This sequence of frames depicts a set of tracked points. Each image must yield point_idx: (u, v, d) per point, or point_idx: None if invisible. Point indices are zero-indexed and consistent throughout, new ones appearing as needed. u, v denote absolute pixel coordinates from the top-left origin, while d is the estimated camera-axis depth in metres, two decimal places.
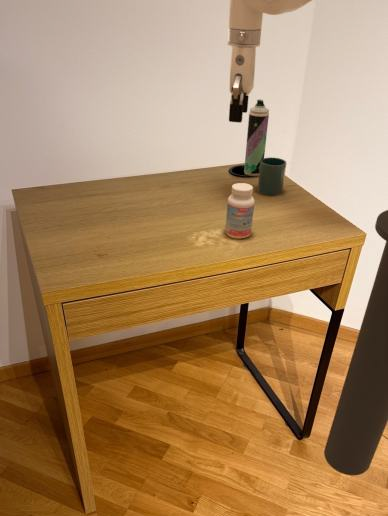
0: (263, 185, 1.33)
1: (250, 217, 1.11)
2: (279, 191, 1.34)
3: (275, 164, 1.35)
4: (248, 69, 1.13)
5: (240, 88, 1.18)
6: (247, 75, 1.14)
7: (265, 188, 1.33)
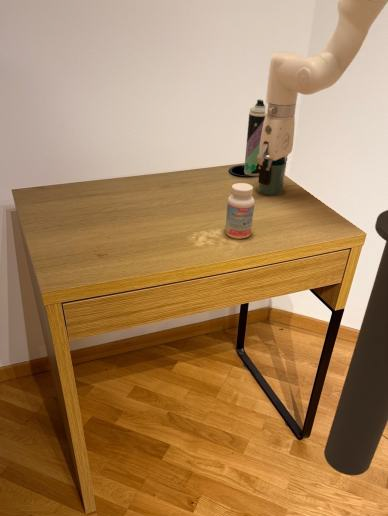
0: (263, 185, 1.33)
1: (250, 217, 1.11)
2: (279, 191, 1.34)
3: (275, 164, 1.35)
4: (274, 139, 1.23)
5: None
6: (273, 144, 1.24)
7: (264, 188, 1.33)
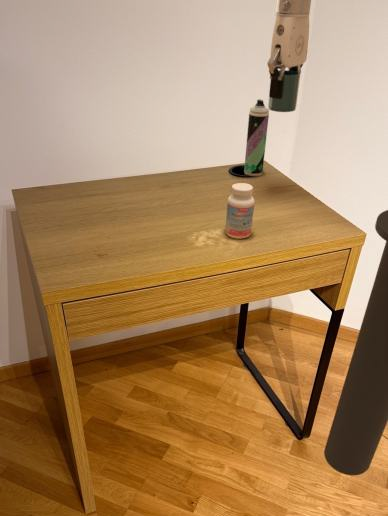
0: (275, 100, 1.20)
1: (250, 217, 1.11)
2: (292, 107, 1.21)
3: None
4: (287, 40, 1.10)
5: (282, 60, 1.14)
6: (286, 46, 1.10)
7: (276, 104, 1.20)
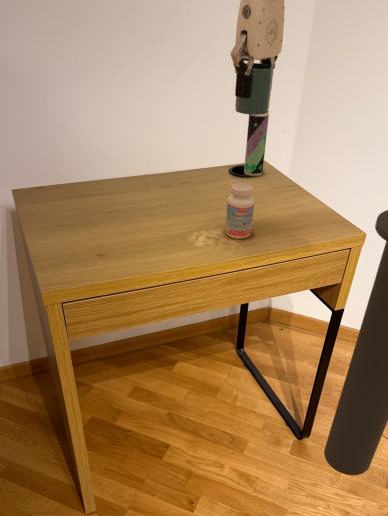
0: (242, 100, 0.97)
1: (250, 217, 1.11)
2: (264, 108, 0.98)
3: None
4: (255, 24, 0.87)
5: None
6: (254, 33, 0.88)
7: (244, 104, 0.97)
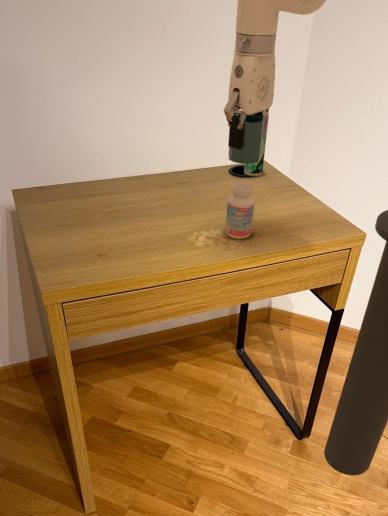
0: (235, 150, 1.01)
1: (250, 217, 1.11)
2: (256, 158, 1.02)
3: (251, 123, 1.03)
4: (247, 83, 0.91)
5: None
6: (246, 91, 0.92)
7: (236, 154, 1.01)
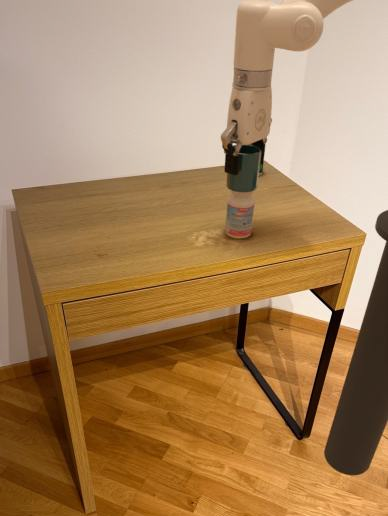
0: (233, 180, 1.05)
1: (250, 217, 1.11)
2: (253, 186, 1.06)
3: (248, 153, 1.07)
4: (245, 116, 0.95)
5: None
6: (243, 123, 0.95)
7: (234, 183, 1.05)
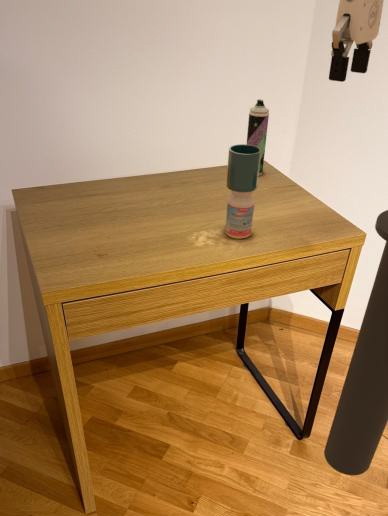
0: (233, 180, 1.05)
1: (250, 217, 1.11)
2: (253, 186, 1.06)
3: (248, 153, 1.07)
4: (360, 7, 0.84)
5: (350, 35, 0.89)
6: (358, 15, 0.85)
7: (234, 183, 1.05)
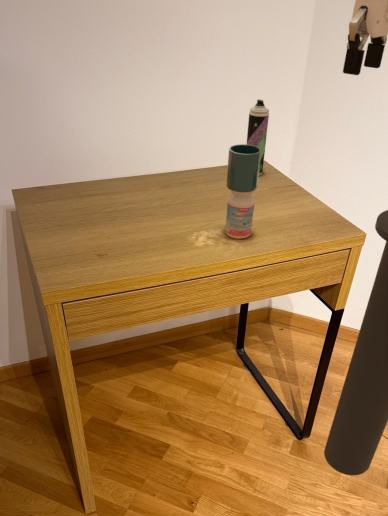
0: (233, 180, 1.05)
1: (250, 217, 1.11)
2: (253, 186, 1.06)
3: (248, 153, 1.07)
4: (378, 0, 0.84)
5: (366, 28, 0.88)
6: (375, 8, 0.85)
7: (234, 183, 1.05)
